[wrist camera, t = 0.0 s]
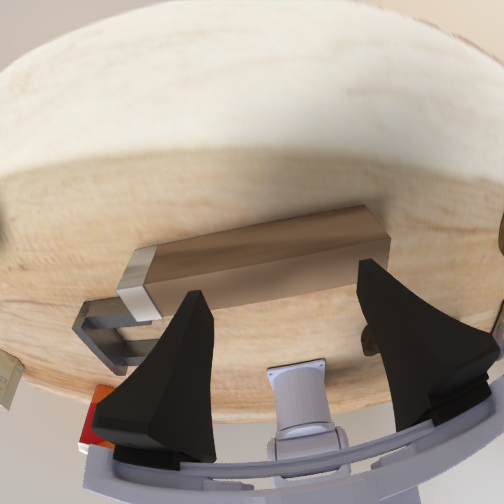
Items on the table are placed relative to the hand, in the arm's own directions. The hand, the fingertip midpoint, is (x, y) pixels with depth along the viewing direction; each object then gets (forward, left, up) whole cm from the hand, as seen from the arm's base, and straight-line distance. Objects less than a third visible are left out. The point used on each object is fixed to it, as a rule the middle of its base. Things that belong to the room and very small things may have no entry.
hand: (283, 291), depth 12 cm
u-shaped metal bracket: (-12, +17, -10) cm, 23 cm away
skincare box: (-21, +59, -10) cm, 63 cm away
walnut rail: (-4, +2, -10) cm, 11 cm away
